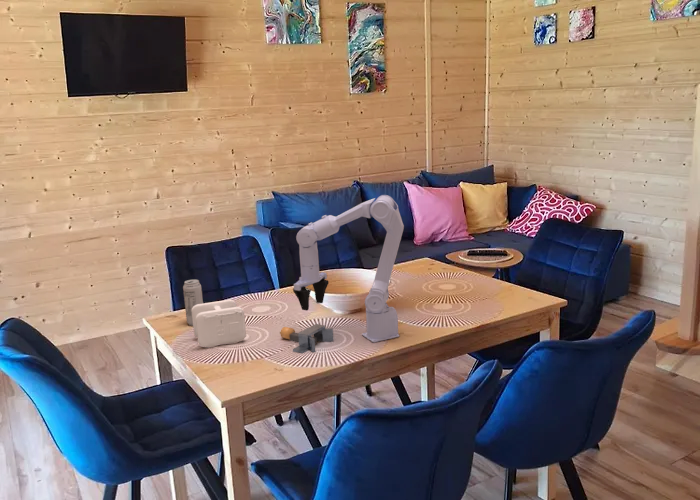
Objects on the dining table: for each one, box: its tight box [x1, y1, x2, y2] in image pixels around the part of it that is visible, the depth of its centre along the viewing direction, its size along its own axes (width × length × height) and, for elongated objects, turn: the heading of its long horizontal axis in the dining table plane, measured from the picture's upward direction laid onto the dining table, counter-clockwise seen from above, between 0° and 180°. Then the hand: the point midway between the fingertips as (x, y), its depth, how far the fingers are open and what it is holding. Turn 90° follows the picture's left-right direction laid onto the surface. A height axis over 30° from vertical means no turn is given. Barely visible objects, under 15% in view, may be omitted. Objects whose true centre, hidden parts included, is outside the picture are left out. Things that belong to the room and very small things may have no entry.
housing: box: [292, 323, 335, 354], centre depth 199 cm, size 6×15×5 cm, turn 146°
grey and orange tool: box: [279, 326, 317, 345], centre depth 203 cm, size 13×4×4 cm, turn 56°
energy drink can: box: [182, 279, 204, 327], centre depth 222 cm, size 6×6×15 cm
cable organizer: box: [192, 299, 247, 349], centre depth 205 cm, size 15×11×12 cm
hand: (312, 306), depth 206 cm, fingers open, 7 cm apart
